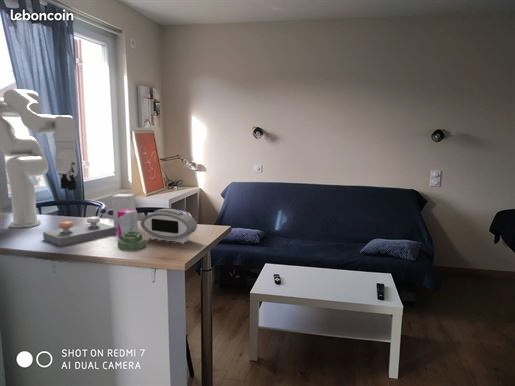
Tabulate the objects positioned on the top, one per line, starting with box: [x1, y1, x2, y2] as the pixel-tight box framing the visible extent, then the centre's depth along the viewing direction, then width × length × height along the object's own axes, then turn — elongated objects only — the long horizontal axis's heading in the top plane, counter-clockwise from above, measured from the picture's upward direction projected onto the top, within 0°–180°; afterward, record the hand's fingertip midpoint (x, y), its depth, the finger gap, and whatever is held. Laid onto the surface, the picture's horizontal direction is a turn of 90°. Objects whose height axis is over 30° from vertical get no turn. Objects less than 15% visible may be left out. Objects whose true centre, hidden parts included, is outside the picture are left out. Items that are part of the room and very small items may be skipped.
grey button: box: [86, 216, 101, 229], centre depth 176 cm, size 5×5×5 cm
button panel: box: [42, 222, 117, 247], centre depth 172 cm, size 14×24×3 cm, turn 142°
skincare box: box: [111, 193, 136, 231], centre depth 185 cm, size 8×7×16 cm
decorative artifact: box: [117, 229, 146, 251], centre depth 160 cm, size 10×7×10 cm
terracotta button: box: [58, 220, 74, 234], centre depth 167 cm, size 5×5×5 cm
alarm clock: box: [140, 208, 198, 244], centre depth 169 cm, size 23×6×13 cm, turn 68°
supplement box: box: [117, 210, 139, 240], centre depth 171 cm, size 6×6×12 cm
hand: (68, 188), depth 174 cm, fingers open, 5 cm apart
